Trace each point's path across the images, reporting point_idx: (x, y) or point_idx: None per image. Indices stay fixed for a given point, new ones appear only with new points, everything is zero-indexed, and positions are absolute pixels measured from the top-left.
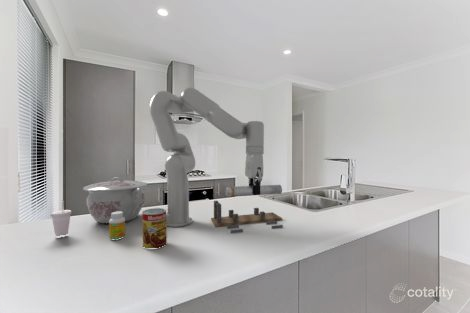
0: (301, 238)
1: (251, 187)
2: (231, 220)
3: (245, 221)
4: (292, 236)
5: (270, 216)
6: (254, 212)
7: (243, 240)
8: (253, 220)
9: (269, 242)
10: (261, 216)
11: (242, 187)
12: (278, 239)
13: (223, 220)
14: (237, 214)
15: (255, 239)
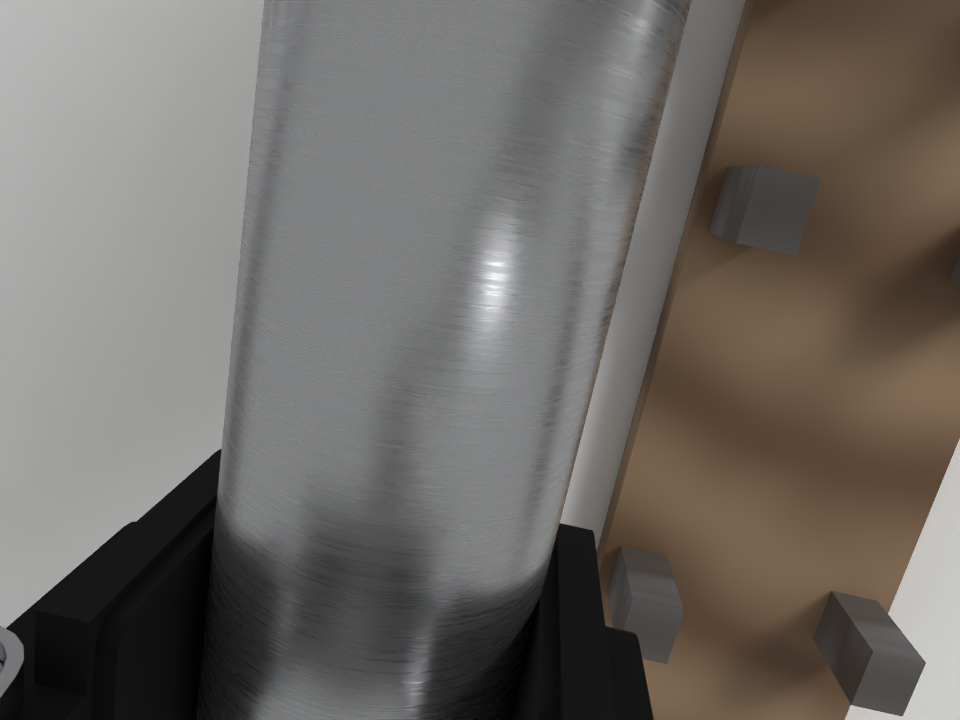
0: (26, 556)
1: (240, 565)
2: (822, 172)
3: (665, 330)
4: (94, 524)
5: (662, 710)
6: (867, 615)
7: (177, 6)
8: (640, 444)
9: (37, 236)
10: (624, 573)
11: (291, 175)
12: (74, 362)
13: (898, 54)
14: (751, 237)
15: (155, 150)
